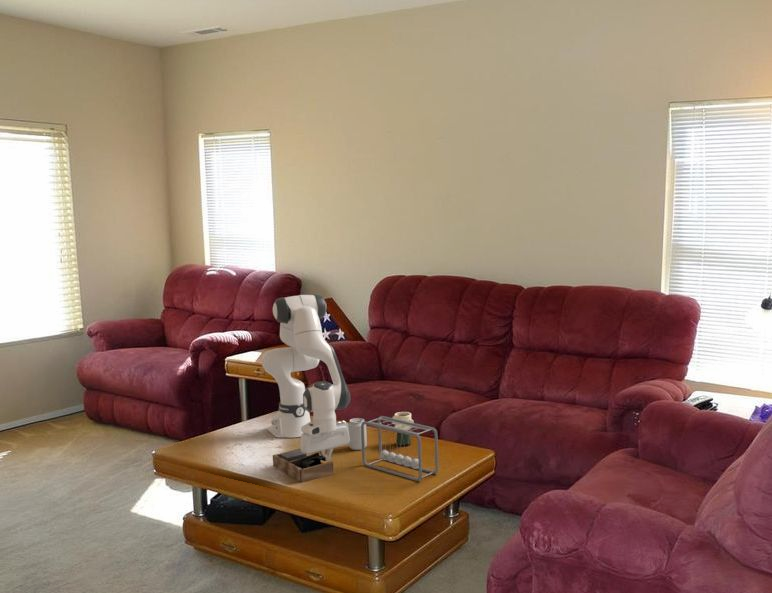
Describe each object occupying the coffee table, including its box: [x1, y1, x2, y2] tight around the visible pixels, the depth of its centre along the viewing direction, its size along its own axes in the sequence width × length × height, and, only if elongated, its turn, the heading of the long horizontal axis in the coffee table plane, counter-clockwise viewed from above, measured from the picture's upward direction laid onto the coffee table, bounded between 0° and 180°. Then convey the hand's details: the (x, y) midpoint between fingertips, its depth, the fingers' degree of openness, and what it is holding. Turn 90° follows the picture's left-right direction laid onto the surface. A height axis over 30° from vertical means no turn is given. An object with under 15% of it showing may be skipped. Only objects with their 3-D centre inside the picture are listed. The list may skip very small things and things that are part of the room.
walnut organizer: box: [272, 448, 335, 483], centre depth 286 cm, size 23×14×4 cm, turn 36°
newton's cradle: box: [361, 415, 439, 482], centre depth 282 cm, size 30×10×18 cm, turn 47°
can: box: [347, 417, 368, 451], centre depth 310 cm, size 8×8×12 cm
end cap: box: [295, 452, 326, 469], centre depth 282 cm, size 10×7×7 cm
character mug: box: [392, 411, 415, 446], centre depth 312 cm, size 11×7×13 cm, turn 51°
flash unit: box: [281, 449, 308, 461], centre depth 290 cm, size 6×8×6 cm
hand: (326, 460), depth 286 cm, fingers closed
